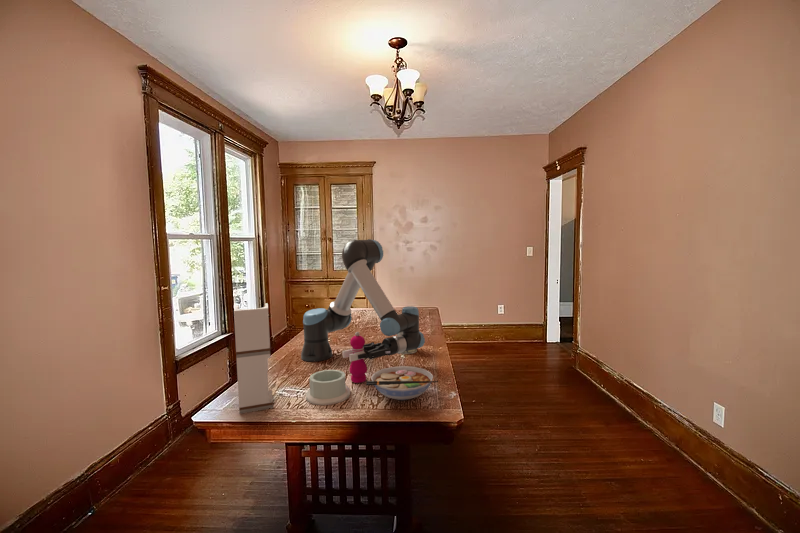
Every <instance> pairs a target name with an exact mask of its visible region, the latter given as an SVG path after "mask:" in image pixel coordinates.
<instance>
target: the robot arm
mask: <svg viewBox="0 0 800 533" xmlns="http://www.w3.org/2000/svg"><path fill="white" fill-rule="evenodd" d="M383 258H384V250H383V246H382V244H381V243H380V242H379V241H377V240H376V239H371V238H369V239H352V240H349V241H348V242H347V243H345V245H344V246H343V248H342V251H341V260H342V263H343V265H344V267H345V268H346V270H347V273H346V276H345V278H344V280H343V282H342V285H341V286H340V289H339V291H338V293H337V296H336V297H335V300H333V301H331V302H330V304H329V306H328V307H327V309H326V308H323V307H321V308H319V307H318V308H312V309H309V310H307V311H306V312H305V313H304V314H303V318H302V319H303V320H302V324H303V339H304V340H303V342H304V343H303V346H302V349H301V354H300V358H301V360H302V361H305V362H321V361H325V360H329V359H331V358H332V357H333V350H332V347H331V344H330V342H329V333H334V332H337V331H340V330H344V329H345V328H347V327H348V326H350V325H351V322H352V317H353V316H352V309H351V307H352V305H353V302H354V301H355V299H356V297H357V294H358V292H359V290H360V289H361V290H362V293H363V294H364V295H365V297H366V299H367V300H368V302H369V304H370V305H371V307H372V309H373V310H374V311H375V314H377V317H378V318H379V320H380V323H379V327H380V328H379V329H380V331H381V333H382V334H383V335H384V336H387V337H385V338H383V340H382V341H381V342H377V343H375V341H372V342H369V343H365V344H364V346H363V347H364V351H363V352H358V353H354V354H353V352H352V348H350V349H346V350H342V351H341V352H342V358H343V359H346V358H348V359H349V362H350V363H352V361H356V360H360V359H364V360H365V359H368V360H373V359H377V358H382V357H385V356H388V357H389V356H393V355H396V354H398V355H400V354H402V353H401V352H405V351H409V350H415V349H417V350H418V349H420V348H422V347H423V346H424V344H425V342H426V341H425V340H426V339H425V337H424V333H423V332H421V331H420V312H419V308H418V307H417V306H413V305H411V306H403V307H402V308H401V313H398V312H397V311H396V309H395V307H394V306H393V304H392V303H391V302H390V299H389V298H388V297H387V295H386V294H385V292H384V290H383V288H382V287H381V285H380V284H379V282H378V281H377V279H376V278H375V276H374V274H373V272H372V271H373V269H374V267H375V264H378V263H380V262H381V261H382V260H383ZM400 332H403V334H402V335H398V336H397V334H398V333H400Z"/></svg>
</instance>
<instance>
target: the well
mask: <svg viewBox="0 0 800 533" xmlns="http://www.w3.org/2000/svg"><path fill="white" fill-rule="evenodd" d="M308 382H309V389H308V390H307V391H306V394H305V396H306V397H305V398H306V401H307V402H308V403H309V402H310V403H309V404H311V403H312V405H316V406H331V405H335V404H339V403H342V402H344V401H346V400H347V399H348V398H349V397H350V395H351V389H350V387H349V386H348V385H347V384H346V372H344V371H343V370H339V369H324V370H319V371H316V372H314V373H313V374H311V375H310V376H309V380H308Z"/></svg>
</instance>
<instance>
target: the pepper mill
mask: <svg viewBox="0 0 800 533" xmlns="http://www.w3.org/2000/svg"><path fill="white" fill-rule="evenodd" d="M365 340H366V339H365V337H363V336H362V335H361V334H360V332H359V331H356V332H355V333H354V336H352V337H351V338H350V341H349V345H350V346H351V349H352V352H353V354H354V353H358V352H363V351H364V347H363V346H364V344H366V341H365ZM367 365H368V364H367V363H366V361H365V358H364V359H360V360H356V361H351V362H350V366H349V370H348V371H349V374H351V375H350V381H351V383H354V384H355V383H356V384H359V383H360V384H361V383H364V382H367V371H368V366H367Z"/></svg>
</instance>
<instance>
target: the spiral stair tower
mask: <svg viewBox="0 0 800 533" xmlns="http://www.w3.org/2000/svg"><path fill="white" fill-rule="evenodd" d="M264 305H265V306H263V307H262V306H261V307H259V308H257V307H256V308H249V309H247V308H246V309H245V308H243V309H240V305H235V308H234V310H233V317H234V318H233V319H234V320H233V321H234V335H235V339H234V340H235V356H236V374H237V391H238V409H239V413H238V414H240V413H241V414H245V413H246V412H247V413H252V411H253V412H257V411H258V410H259V411H263V410H269V408H270V409H273V408H274V403H273V402H274V401H273V390H272V389H269V377H268V376H269V374H268V372H269V359H270V358H271V341H270V337H271V336H270V325H269V324H270V322H269V320H270V319H269V318H270V317H269V304H268V302H267V303H264ZM259 411H258V412H259Z"/></svg>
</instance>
